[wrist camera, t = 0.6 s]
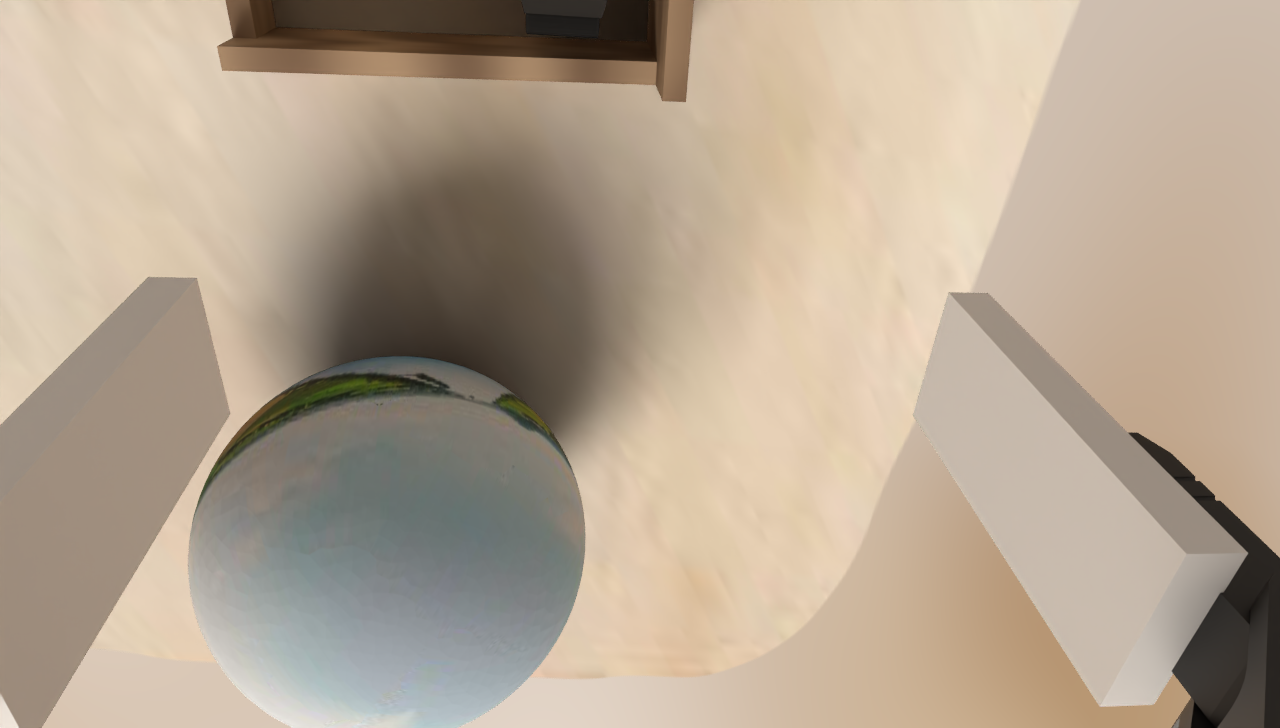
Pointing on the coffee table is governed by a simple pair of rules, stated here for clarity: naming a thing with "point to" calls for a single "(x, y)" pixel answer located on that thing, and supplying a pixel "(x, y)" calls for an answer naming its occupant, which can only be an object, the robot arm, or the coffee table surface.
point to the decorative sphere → (386, 547)
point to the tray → (464, 52)
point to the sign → (564, 17)
